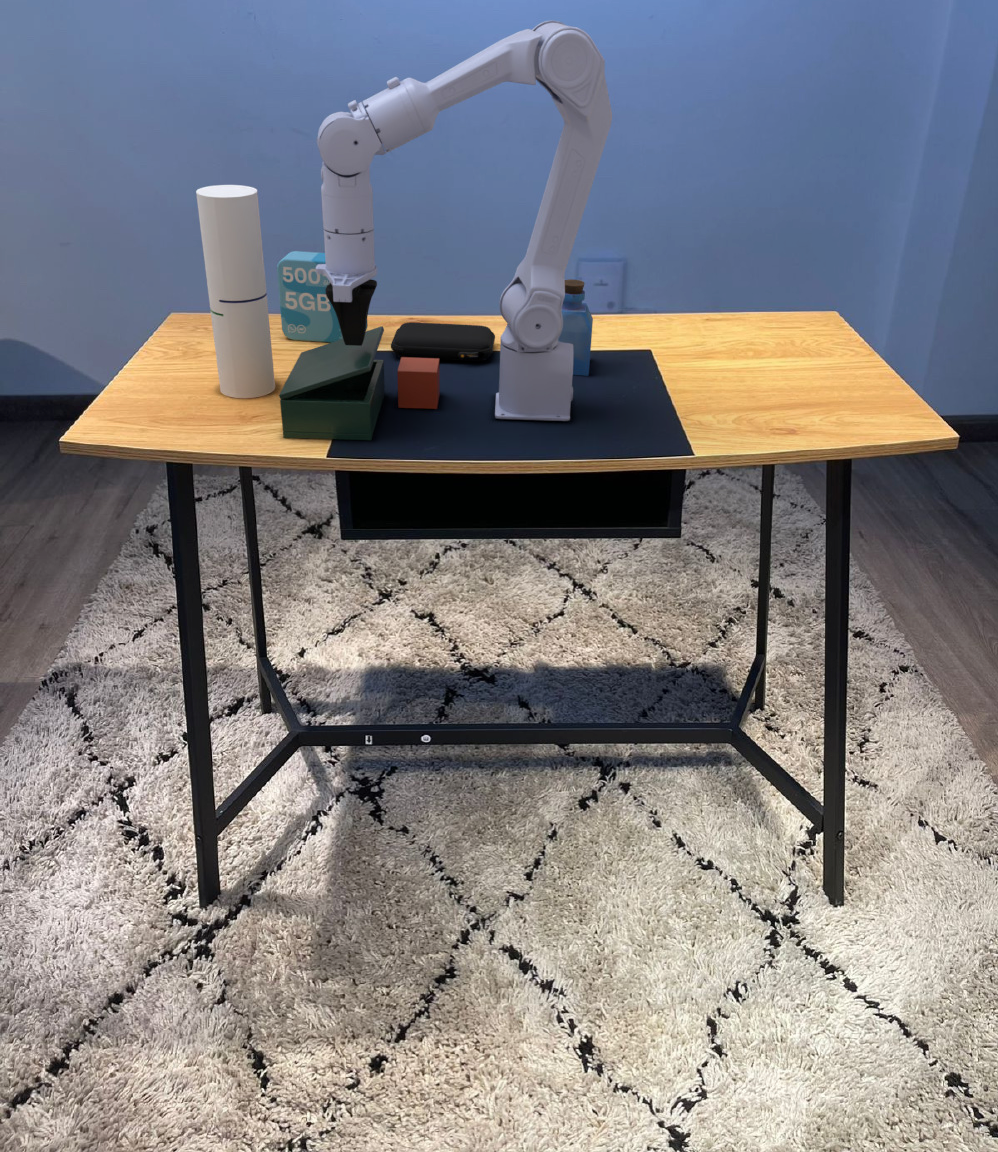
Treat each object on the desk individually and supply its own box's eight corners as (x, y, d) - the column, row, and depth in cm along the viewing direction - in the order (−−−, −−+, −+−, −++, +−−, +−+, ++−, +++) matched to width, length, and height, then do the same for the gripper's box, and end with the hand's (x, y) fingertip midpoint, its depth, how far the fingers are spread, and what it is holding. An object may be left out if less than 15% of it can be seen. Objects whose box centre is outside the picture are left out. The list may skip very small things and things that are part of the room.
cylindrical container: (262, 400, 132) (242, 199, 119) (210, 395, 133) (185, 194, 120) (283, 381, 138) (266, 187, 125) (233, 375, 139) (211, 183, 126)
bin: (384, 394, 135) (383, 359, 132) (371, 440, 123) (369, 403, 120) (304, 392, 135) (302, 357, 132) (283, 437, 123) (279, 400, 120)
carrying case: (388, 363, 145) (491, 368, 144) (387, 342, 143) (492, 347, 143) (398, 338, 154) (495, 342, 153) (397, 318, 152) (495, 322, 152)
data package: (282, 339, 152) (275, 258, 146) (291, 329, 156) (285, 250, 149) (361, 345, 151) (357, 263, 144) (368, 335, 155) (365, 255, 148)
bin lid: (384, 330, 130) (382, 325, 130) (370, 371, 118) (368, 366, 118) (302, 356, 132) (300, 352, 132) (280, 399, 120) (278, 395, 120)
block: (439, 394, 136) (439, 358, 133) (437, 409, 131) (436, 372, 129) (401, 393, 136) (401, 357, 133) (398, 407, 131) (397, 370, 129)
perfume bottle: (589, 360, 148) (596, 277, 142) (588, 375, 143) (595, 290, 137) (547, 357, 149) (551, 275, 142) (544, 372, 143) (549, 287, 137)
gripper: (324, 212, 123) (330, 323, 130) (302, 243, 110) (310, 363, 118) (382, 214, 123) (385, 325, 130) (367, 245, 110) (372, 365, 118)
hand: (354, 343), depth 124 cm, fingers closed
